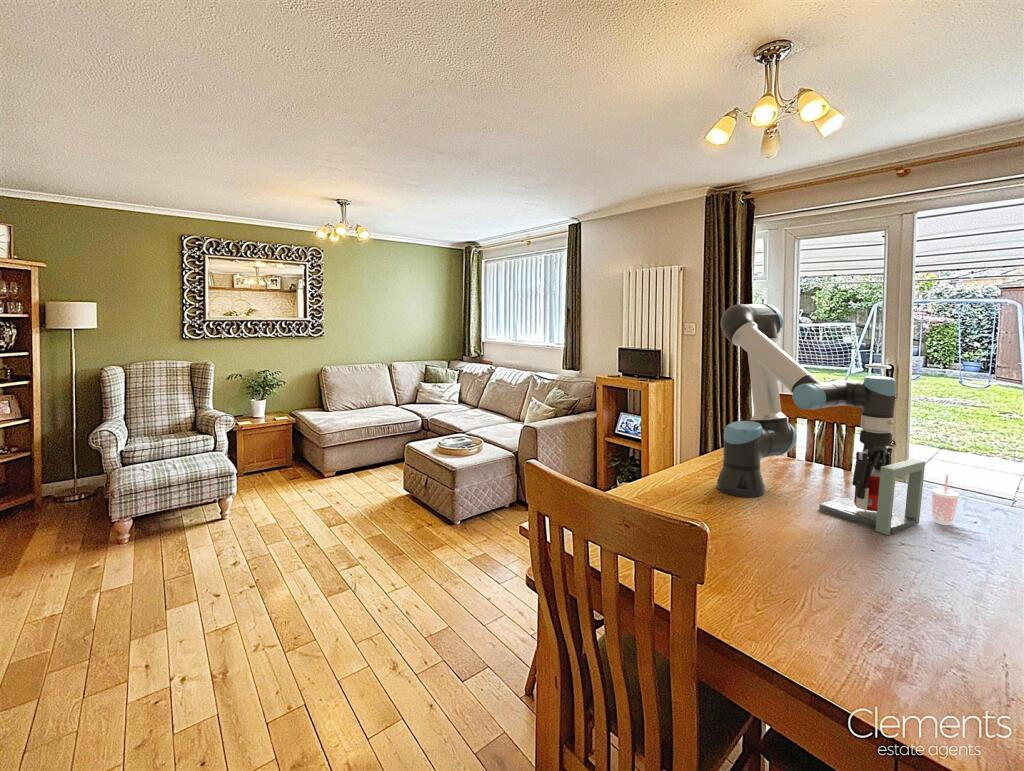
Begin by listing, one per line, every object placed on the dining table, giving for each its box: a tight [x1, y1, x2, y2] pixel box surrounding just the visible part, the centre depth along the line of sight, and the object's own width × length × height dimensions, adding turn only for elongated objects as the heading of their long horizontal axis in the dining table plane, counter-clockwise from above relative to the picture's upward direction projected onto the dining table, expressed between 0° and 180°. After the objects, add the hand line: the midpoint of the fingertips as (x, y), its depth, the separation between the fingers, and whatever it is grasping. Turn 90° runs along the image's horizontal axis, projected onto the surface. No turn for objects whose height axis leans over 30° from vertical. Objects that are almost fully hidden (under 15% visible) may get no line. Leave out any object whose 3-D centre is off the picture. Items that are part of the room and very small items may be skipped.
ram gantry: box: [874, 458, 926, 536], centre depth 139 cm, size 3×16×18 cm, turn 116°
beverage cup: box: [931, 474, 960, 526], centre depth 143 cm, size 6×6×14 cm
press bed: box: [818, 496, 916, 535], centre depth 148 cm, size 20×12×2 cm, turn 26°
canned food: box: [853, 467, 881, 511], centre depth 146 cm, size 8×8×11 cm
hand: (870, 506), depth 147 cm, fingers closed on canned food, 8 cm apart
